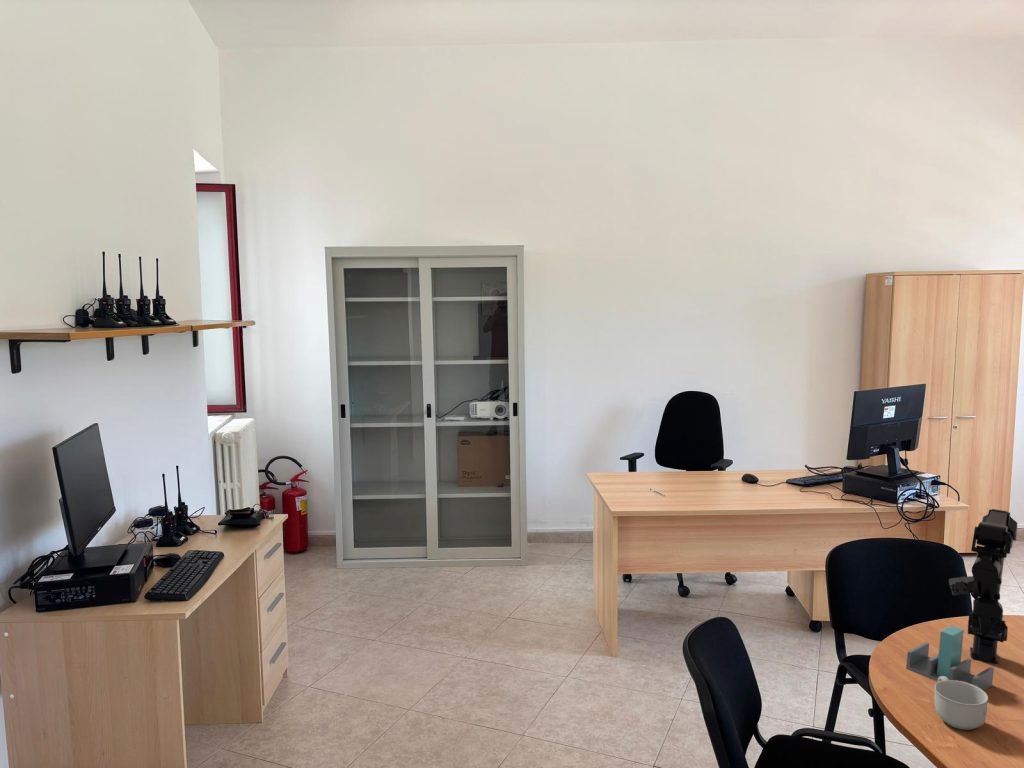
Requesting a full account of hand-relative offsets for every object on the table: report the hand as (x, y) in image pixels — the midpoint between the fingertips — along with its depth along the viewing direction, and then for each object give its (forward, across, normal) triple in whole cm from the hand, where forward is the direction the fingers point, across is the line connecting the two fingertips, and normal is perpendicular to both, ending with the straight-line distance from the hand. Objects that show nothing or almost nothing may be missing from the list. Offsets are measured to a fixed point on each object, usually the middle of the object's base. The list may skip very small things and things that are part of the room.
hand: (982, 628), depth 195 cm
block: (+12, +5, -7) cm, 15 cm away
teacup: (+13, +27, -6) cm, 31 cm away
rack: (+13, +5, -7) cm, 16 cm away
